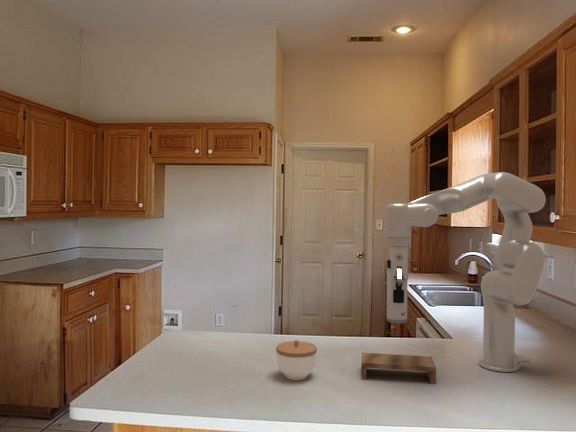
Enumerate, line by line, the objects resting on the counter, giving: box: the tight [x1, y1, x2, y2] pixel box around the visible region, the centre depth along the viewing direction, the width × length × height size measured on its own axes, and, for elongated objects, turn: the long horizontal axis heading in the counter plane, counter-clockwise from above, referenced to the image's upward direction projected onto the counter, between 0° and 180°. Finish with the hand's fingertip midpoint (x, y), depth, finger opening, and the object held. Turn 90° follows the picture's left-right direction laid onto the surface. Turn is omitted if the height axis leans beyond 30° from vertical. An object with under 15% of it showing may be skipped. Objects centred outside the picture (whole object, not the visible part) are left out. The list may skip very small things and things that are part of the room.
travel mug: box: [386, 257, 409, 324], centre depth 142 cm, size 6×7×20 cm
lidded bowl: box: [275, 339, 318, 381], centre depth 142 cm, size 13×13×11 cm
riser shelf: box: [360, 352, 437, 385], centre depth 143 cm, size 22×10×5 cm, turn 80°
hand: (397, 299), depth 143 cm, fingers closed on travel mug, 6 cm apart
